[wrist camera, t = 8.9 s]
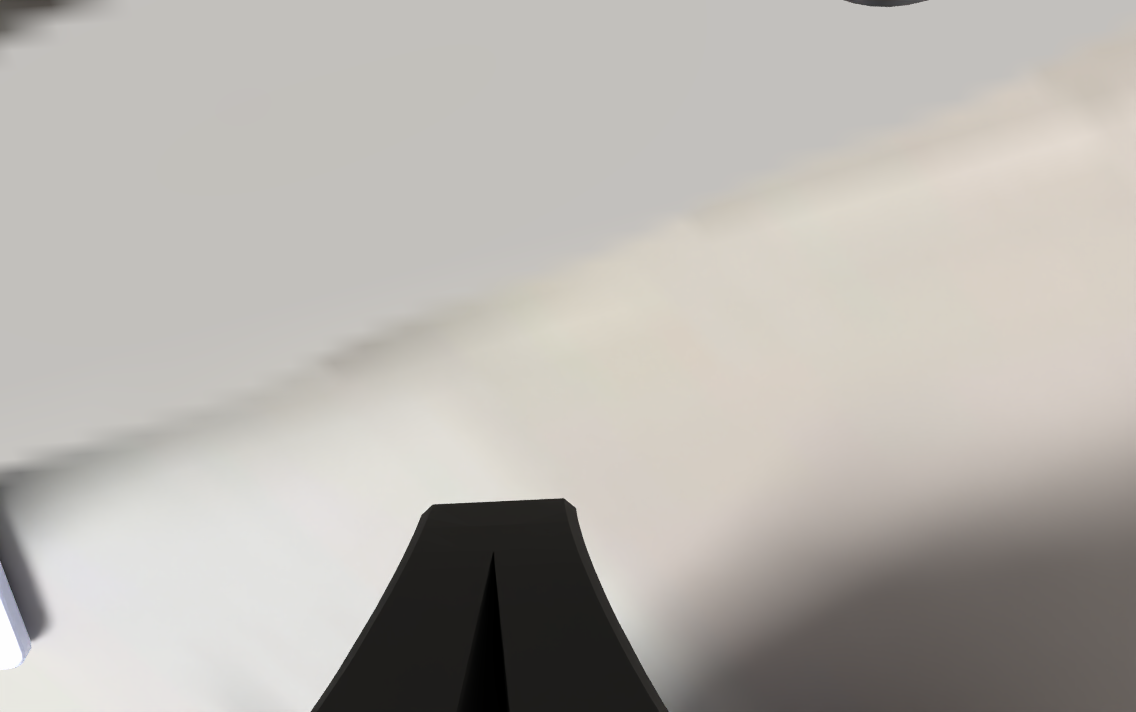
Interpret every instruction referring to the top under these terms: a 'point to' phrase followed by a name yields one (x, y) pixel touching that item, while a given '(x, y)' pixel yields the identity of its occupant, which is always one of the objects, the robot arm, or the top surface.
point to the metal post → (885, 2)
